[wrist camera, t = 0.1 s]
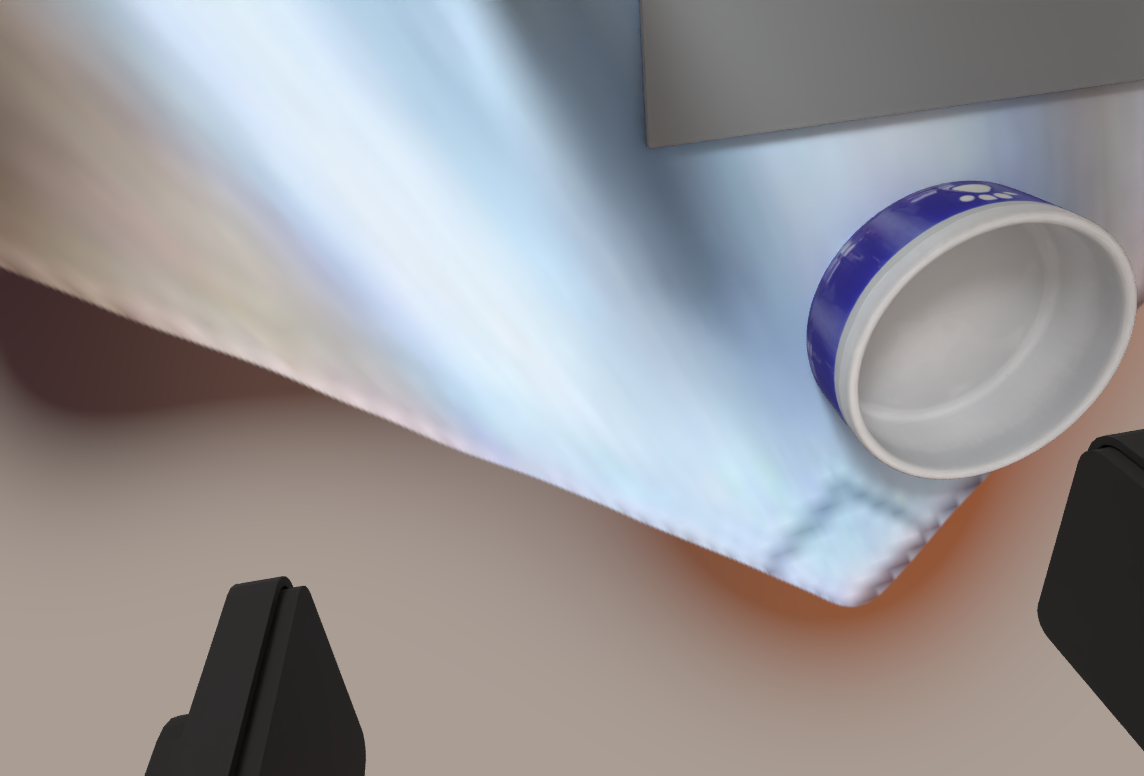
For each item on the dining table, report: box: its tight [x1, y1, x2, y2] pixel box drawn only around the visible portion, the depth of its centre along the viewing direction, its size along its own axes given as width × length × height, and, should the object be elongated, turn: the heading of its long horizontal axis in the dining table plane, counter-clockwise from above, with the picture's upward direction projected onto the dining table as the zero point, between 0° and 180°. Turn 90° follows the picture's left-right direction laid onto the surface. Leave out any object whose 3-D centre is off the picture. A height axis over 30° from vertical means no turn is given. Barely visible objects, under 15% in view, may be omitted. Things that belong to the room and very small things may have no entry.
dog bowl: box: [807, 181, 1137, 479], centre depth 43 cm, size 15×15×6 cm
